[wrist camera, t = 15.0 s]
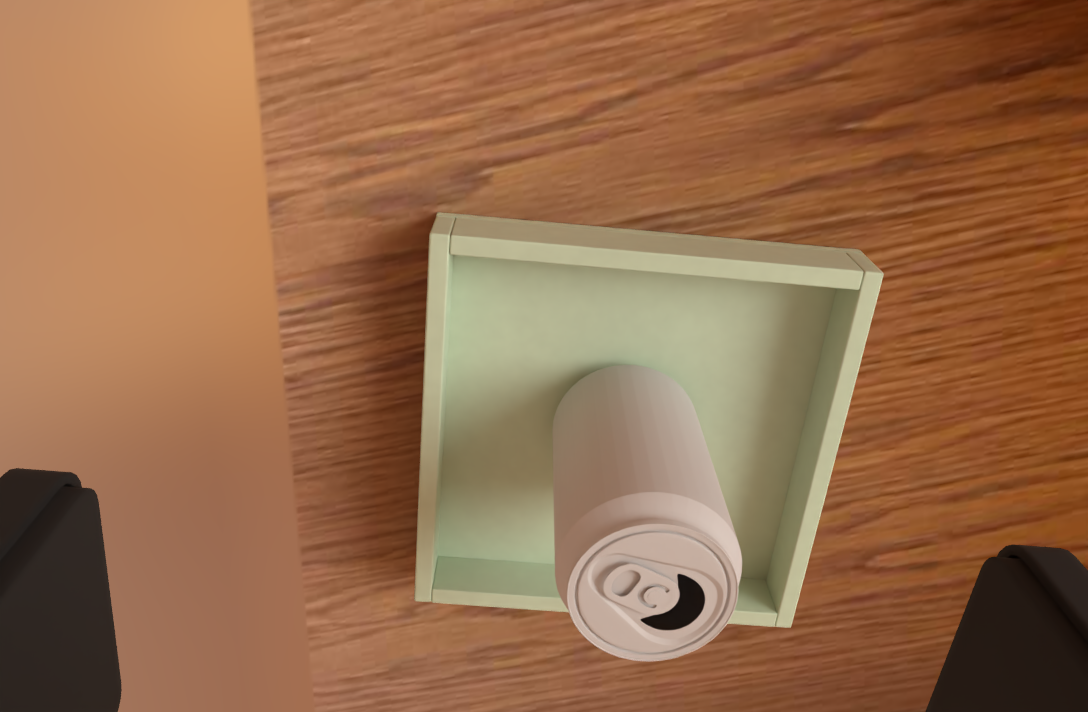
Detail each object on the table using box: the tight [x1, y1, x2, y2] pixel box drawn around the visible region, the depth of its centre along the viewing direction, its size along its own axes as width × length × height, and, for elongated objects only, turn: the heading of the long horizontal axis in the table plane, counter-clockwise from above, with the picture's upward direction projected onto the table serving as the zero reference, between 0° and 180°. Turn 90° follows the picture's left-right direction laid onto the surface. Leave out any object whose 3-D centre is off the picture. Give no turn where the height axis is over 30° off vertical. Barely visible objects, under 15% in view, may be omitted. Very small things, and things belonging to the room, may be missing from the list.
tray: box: [414, 212, 884, 628], centre depth 40 cm, size 18×18×3 cm
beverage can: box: [552, 365, 742, 661], centre depth 35 cm, size 6×6×12 cm
